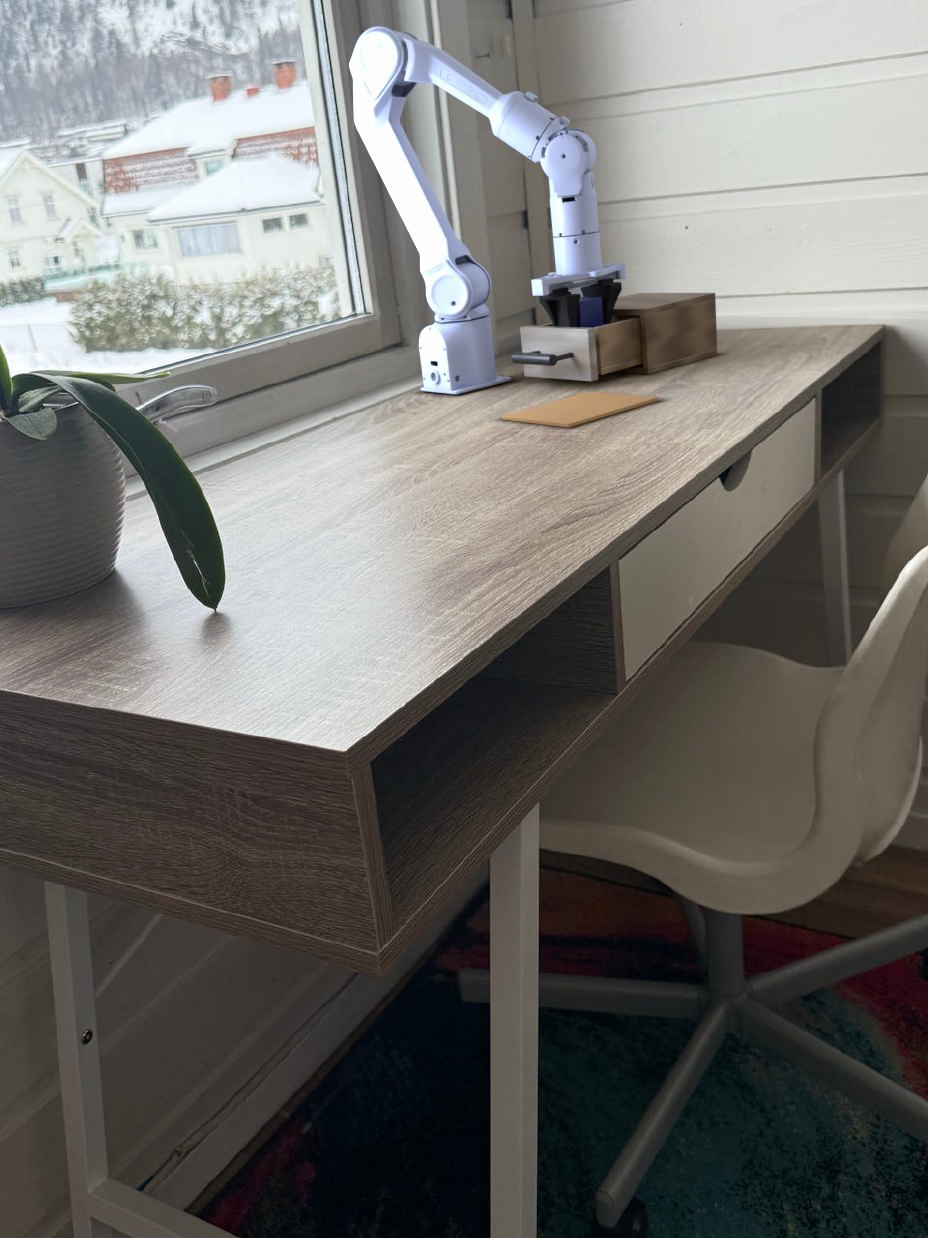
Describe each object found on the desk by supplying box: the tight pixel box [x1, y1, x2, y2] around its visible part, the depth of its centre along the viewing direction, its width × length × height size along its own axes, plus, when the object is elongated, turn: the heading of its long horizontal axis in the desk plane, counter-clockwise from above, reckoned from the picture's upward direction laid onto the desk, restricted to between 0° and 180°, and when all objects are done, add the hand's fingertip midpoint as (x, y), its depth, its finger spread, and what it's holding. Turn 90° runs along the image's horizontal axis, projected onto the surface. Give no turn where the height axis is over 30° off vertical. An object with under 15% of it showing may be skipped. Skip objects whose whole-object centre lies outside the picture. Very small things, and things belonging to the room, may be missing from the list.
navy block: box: [577, 297, 604, 328], centre depth 146 cm, size 4×4×8 cm
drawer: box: [511, 315, 643, 382], centre depth 146 cm, size 17×12×6 cm
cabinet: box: [612, 292, 718, 375], centre depth 153 cm, size 14×14×8 cm
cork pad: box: [501, 390, 659, 429], centre depth 129 cm, size 14×11×1 cm
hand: (585, 345), depth 147 cm, fingers open, 5 cm apart
